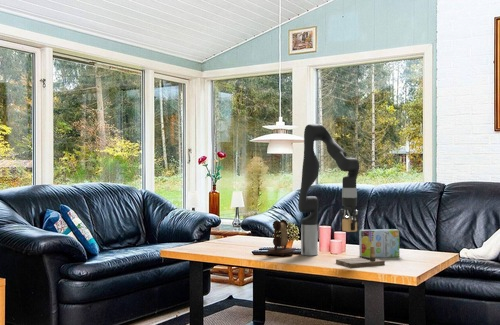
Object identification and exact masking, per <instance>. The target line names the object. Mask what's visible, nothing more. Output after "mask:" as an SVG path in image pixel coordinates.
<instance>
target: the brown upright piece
mask: <svg viewBox="0 0 500 325" xmlns="http://www.w3.org/2000/svg"><path fill="white" fill-rule="evenodd" d="M288 225H289V224H288V221H287V220H285V219H281V220H278V219H277V220H274V221H273V222H272V228H273V231H274V232H273V236H274V238H273V239H272V243H273V245H274V247H273V248H269V249H267V252H268V253H269V254H270V255H281V258H283V257H284V255H291V254H292V255H293V254H294V249H292V248H290V247H287V246H288V241H289V240H288V231H287V228H288V227H289V226H288ZM279 236H280V237H279ZM268 253H267V254H268Z"/></svg>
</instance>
